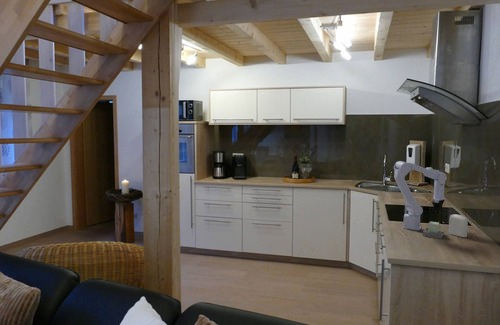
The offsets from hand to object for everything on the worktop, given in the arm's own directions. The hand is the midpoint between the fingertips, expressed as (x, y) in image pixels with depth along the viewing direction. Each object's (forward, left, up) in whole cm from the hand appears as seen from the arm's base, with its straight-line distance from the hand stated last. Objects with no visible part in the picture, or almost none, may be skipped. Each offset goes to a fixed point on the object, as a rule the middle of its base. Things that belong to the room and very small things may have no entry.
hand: (437, 211), depth 241 cm
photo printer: (+13, -10, -11) cm, 19 cm away
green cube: (+1, -18, -8) cm, 20 cm away
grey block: (+1, -18, -11) cm, 21 cm away
